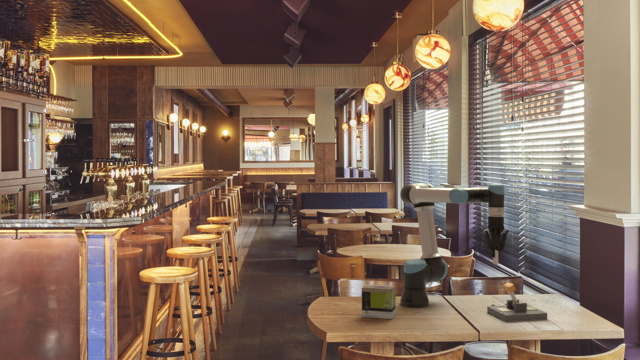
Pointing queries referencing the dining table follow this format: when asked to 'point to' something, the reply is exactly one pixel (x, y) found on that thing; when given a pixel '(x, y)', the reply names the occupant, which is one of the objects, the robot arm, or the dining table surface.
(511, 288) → the breaker lever
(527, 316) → the breaker box
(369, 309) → the tea box
